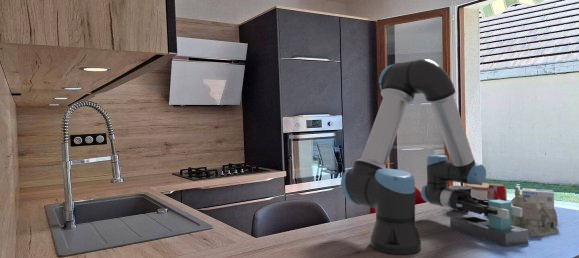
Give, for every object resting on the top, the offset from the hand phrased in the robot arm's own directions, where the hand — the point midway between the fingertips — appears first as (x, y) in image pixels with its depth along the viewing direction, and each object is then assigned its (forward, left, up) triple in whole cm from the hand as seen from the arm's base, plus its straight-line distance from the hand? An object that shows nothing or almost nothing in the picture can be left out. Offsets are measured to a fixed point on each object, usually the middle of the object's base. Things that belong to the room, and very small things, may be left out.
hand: (514, 213), depth 118 cm
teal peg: (0, +5, -9) cm, 11 cm away
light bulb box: (+38, +19, -10) cm, 44 cm away
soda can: (+29, +30, -10) cm, 43 cm away
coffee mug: (+20, +41, -10) cm, 47 cm away
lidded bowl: (+36, +44, -10) cm, 58 cm away
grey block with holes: (0, +10, -9) cm, 14 cm away
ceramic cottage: (+19, +8, -10) cm, 23 cm away
